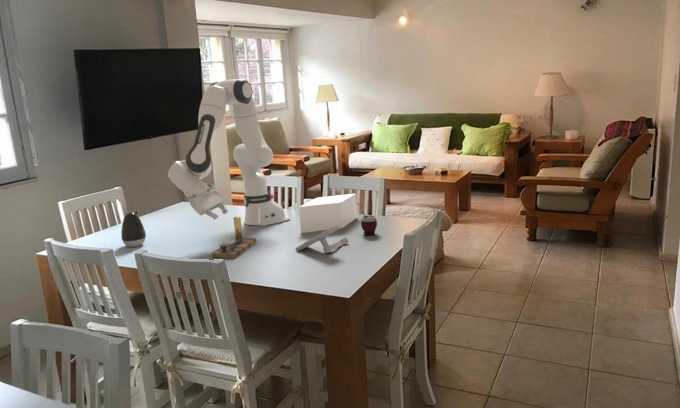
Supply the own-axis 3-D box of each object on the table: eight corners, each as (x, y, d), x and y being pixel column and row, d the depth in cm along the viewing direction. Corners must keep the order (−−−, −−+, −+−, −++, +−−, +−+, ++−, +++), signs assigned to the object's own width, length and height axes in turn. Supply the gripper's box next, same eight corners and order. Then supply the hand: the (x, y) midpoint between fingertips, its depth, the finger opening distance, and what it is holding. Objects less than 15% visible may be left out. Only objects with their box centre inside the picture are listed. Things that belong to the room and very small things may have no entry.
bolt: (238, 238, 245) (236, 215, 243) (245, 238, 245) (243, 215, 242) (229, 245, 236) (226, 221, 234) (235, 245, 235) (233, 221, 233)
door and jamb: (234, 242, 250) (233, 231, 249) (255, 242, 247) (255, 231, 246) (212, 258, 229) (210, 246, 228) (235, 258, 226) (233, 246, 225)
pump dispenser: (151, 242, 257) (147, 209, 254) (139, 249, 247) (134, 215, 244) (131, 241, 259) (126, 209, 256) (118, 248, 249) (113, 215, 246)
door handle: (304, 265, 232) (337, 247, 220) (295, 248, 233) (327, 229, 220) (329, 252, 246) (361, 235, 234) (320, 236, 247) (352, 217, 234)
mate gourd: (380, 233, 251) (379, 200, 248) (369, 237, 245) (367, 204, 242) (367, 231, 256) (366, 198, 253) (356, 235, 250) (354, 202, 247)
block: (369, 220, 275) (368, 195, 272) (313, 236, 253) (311, 209, 250) (345, 215, 288) (344, 191, 285) (289, 230, 266) (287, 204, 263)
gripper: (190, 192, 231) (214, 216, 231) (213, 183, 250) (235, 205, 250) (181, 203, 233) (206, 226, 233) (205, 193, 252) (227, 214, 252)
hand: (221, 215), depth 241 cm, fingers open, 8 cm apart
